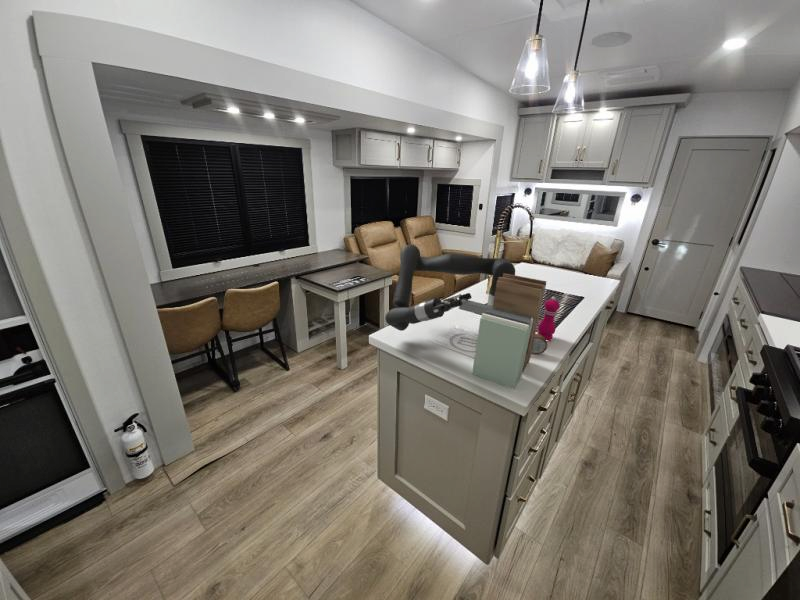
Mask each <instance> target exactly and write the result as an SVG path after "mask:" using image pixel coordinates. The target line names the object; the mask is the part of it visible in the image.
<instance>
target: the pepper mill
mask: <svg viewBox="0 0 800 600" xmlns="http://www.w3.org/2000/svg"><path fill="white" fill-rule="evenodd" d="M543 306H544V311H543V312H544V316H543V319H542V320H541V321H540V322H539V324H537V331H538V332H537V334H539V335H542V336H543V337H545V339H546V340H550V341H552V340H551V339H553V335H554V334H555V333H556V325H555V316H556V315H557V313H558V310H559V309H560V306H561V305H560V303H559V301H558V300H557V298H556V296H552V297H551V298H550V299H547V300H546V301H545V302H544V304H543Z"/></svg>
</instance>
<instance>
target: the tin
mask: <svg viewBox="0 0 800 600" xmlns="http://www.w3.org/2000/svg"><path fill="white" fill-rule="evenodd" d="M547 348H548V341H546V339H545V337H543V336H542V335H539V334H538V333H537V334H536V333H535V337H534V342H533V346H532V351H531V354H532V355H542V354H543V353H545V351H547Z"/></svg>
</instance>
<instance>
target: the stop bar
mask: <svg viewBox="0 0 800 600" xmlns="http://www.w3.org/2000/svg"><path fill="white" fill-rule="evenodd" d="M461 301H462V305H461V306H458V310H462V311H465V312H470V313H473V314H477V315H480V316H482V314H483V313H484V314H488V315H492V316H496V317H500V318H504V319H507V320H511V321H515V322H519V323H523V324H527V325H529V326H530V325H531V320H532V316H531V315H527V314H523V313H519V312H515V311H510V310H506V309H502V308H498V307H494V306H490V305H487V304H485V303H481V302H477V301H473V300H471V299H468V300H466V299H462V300H461Z"/></svg>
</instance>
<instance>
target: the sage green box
mask: <svg viewBox="0 0 800 600" xmlns="http://www.w3.org/2000/svg"><path fill="white" fill-rule="evenodd" d="M532 323H533V319H532V320H531V325H530V326H529V325H527V324H523V323H519V322H515V321H511V320H507V319H504V318H500V317H496V316H492V315H488V314H484V313H483V314H482V315H481V317H480V320H479V326H478V334H477V337H476V338H477V339H476V345H475V354H474V359H473V367H472V371H471V374H472V375H473V376H476V377H480V378H482V379H483V380H488V381H491V382H493V383H495V384H498V385H501V386H503V387H506V388H509V389H512V390H515V389H516V388H517V386H518V383H519V382H520V380H521V378H522V375H523V372H522V370H523V366H524V361H525V356H526V352H527V347H528V342H529V338H530V333H531V328H532Z"/></svg>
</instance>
